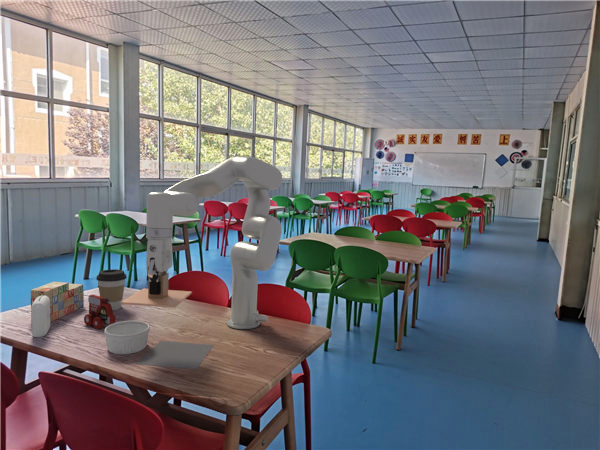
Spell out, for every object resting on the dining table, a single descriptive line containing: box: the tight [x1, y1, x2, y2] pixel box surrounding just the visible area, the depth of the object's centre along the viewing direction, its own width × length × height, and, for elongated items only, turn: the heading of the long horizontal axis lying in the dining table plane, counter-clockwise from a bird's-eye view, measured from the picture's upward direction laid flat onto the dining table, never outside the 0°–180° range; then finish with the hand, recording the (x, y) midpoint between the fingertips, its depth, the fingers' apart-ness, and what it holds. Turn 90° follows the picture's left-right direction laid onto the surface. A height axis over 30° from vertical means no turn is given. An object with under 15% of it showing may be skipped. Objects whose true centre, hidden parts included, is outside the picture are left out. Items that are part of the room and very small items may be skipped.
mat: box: [135, 340, 215, 370], centre depth 132 cm, size 18×18×1 cm
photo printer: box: [31, 296, 51, 338], centre depth 144 cm, size 10×4×12 cm, turn 20°
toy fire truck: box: [83, 294, 117, 330], centre depth 154 cm, size 7×12×10 cm, turn 60°
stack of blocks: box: [30, 281, 85, 323], centre depth 163 cm, size 21×6×12 cm, turn 173°
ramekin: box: [103, 320, 151, 355], centre depth 135 cm, size 13×13×7 cm
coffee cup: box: [95, 268, 128, 311], centre depth 173 cm, size 11×11×15 cm
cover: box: [121, 272, 193, 309], centre depth 131 cm, size 16×16×8 cm
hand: (158, 291), depth 131 cm, fingers closed on cover, 4 cm apart
